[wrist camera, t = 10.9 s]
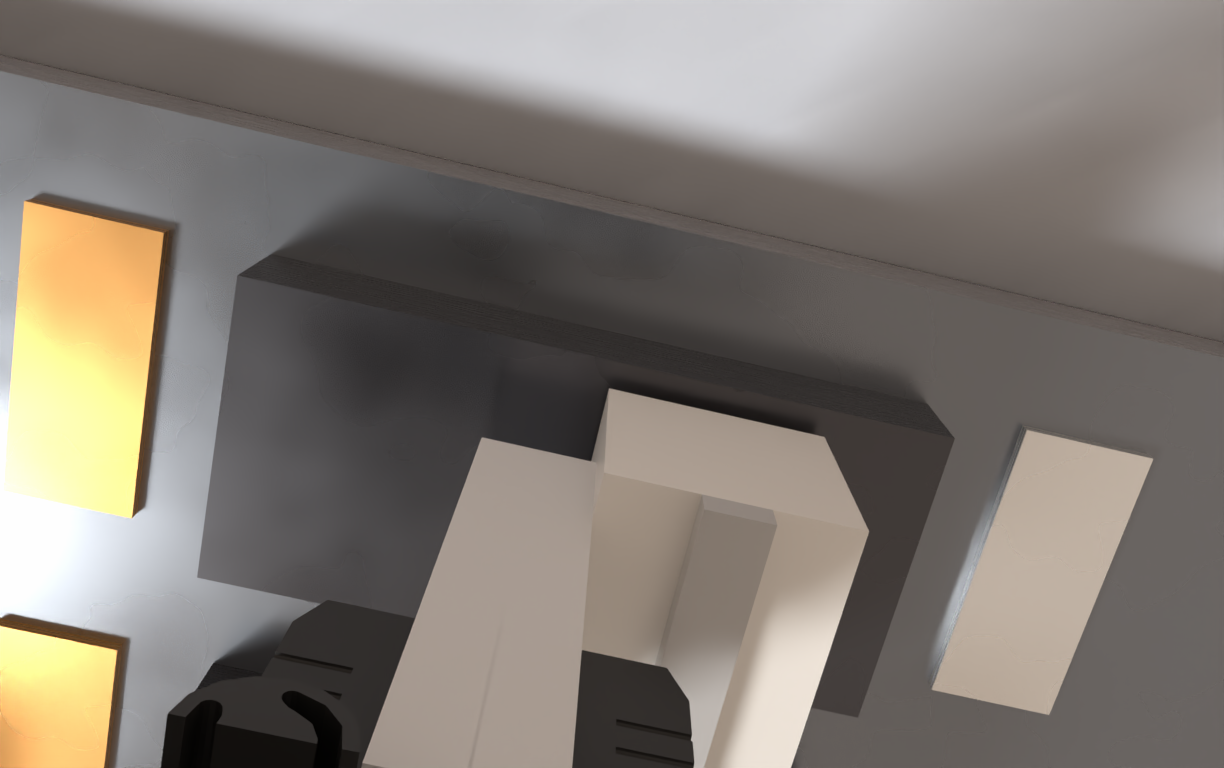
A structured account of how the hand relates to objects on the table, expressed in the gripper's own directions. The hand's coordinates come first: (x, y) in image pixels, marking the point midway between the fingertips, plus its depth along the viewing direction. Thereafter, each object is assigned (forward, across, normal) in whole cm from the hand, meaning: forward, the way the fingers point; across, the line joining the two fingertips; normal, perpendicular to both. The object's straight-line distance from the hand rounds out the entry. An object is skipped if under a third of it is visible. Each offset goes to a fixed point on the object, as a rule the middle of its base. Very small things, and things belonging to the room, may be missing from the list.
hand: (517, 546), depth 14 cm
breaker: (+1, +2, 0) cm, 3 cm away
